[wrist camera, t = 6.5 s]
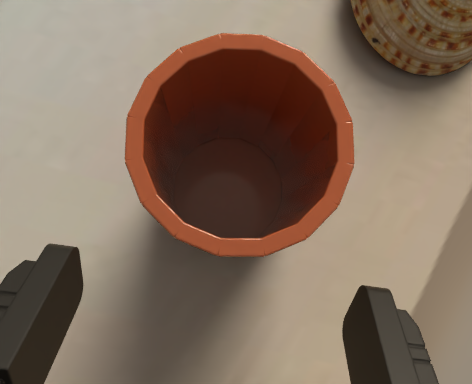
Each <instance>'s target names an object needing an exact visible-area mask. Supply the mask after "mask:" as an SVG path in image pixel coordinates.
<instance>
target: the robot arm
mask: <svg viewBox="0 0 472 384" xmlns="http://www.w3.org/2000/svg"><path fill="white" fill-rule="evenodd" d="M82 292H83V277H82V269H81V261H80V254H79V249H78V248H77V247H72V246H64V245H57V244H48V245H47V246H46V247H45V248H44V250H43V251H42V253H41V255H40V256H39V258H38V260H37V261H29V260H25V261H23V262H22V263H21V264H19V265H18V266H17V267H15V268H14V269H13V270H12V271H10V272H9V273H8V274H7V275H6V277H5V278H4V280H3V281H2V283H1V284H0V384H44V382H45V380H46V378H47V375H48V373H49V371H50V369H51V366H52V364H53V362H54V360H55V357H56V355H57V353H58V351H59V348H60V346H61V344H62V342H63V339H64V337H65V335H66V333H67V331H68V328H69V326H70V324H71V322H72V319H73V317H74V315H75V313H76V310H77V308H78V306H79V303H80V301H81V297H82ZM342 333H343V342H344V348H345V353H346V359H347V364H348V370H349V376H350V381H351V384H439V383H438V380H437V377H436V374H435V371H434V369H433V366H432V364H430V361H431V360H430V357H429V355H428V352H427V349H425V343H424V341H423V338H422V335H421V332H420V330H419V327H418V326H417V324H416V323H415V322H414V320H413V319H412V318H411V316H410V315H409V314H408V313H407V311H406V310H399V309H397V308H396V305H395V302H394V299H393V296H392V293H391V291H390V290H389V289H386V288H378V287H371V286H364V285H362V286H360V287H359V289H358V291H357V293H356V295H355V297H354V299H353V301H352V303H351V305H350V307H349V309H348V311H347V313H346V315H345V318H344V321H343V330H342Z"/></svg>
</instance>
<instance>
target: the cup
mask: <svg viewBox="0 0 472 384" xmlns="http://www.w3.org/2000/svg"><path fill="white" fill-rule="evenodd" d="M125 164H126V166H127V169H128V172H129V174H130V177H131V179H132V182H133V185H134V187H135V190H136V192H137V195H138V198H139V200H140V203H141V204H142V205H143V207H144V208H145V209H146V210H147V211H148V212H149V213H150V214H151V215H152V216H153V217H154V218H155V219H156V220H157V221H158V222H159V223H160V224H161V225H162V226H163V227H164V228H165V230H166V231H167V232H168V233H169V234H170V235H171V236H172V237H175V239H177V240H179V241H182V242H184V243H186V244H189V245H191V246H194V247H196V248H198V249H201V250H203V251H205V252H208V253H210V254H212V255H215V256H217V255H218V256H219V257H263V256H268V255H270V254H273V253H275V252H277V251H280V250H282V249H285V248H287V247H289V246H292V245H294V244H296V243H299V242H301V241H304V240H306V239H307V238H308V237H310V236H311V235H312V234H313V233H314V232H315V231H316V229H317V228H318V227H319V226H320V225H321V224H322V223H323V222H324V221H325V220H326V219H327V218H328V217H329V216H330V215H331V214H332V213H333V212H334V211H335V210H336V209H337V207H338V206H339V204H340V202H341V199H342V197H343V194H344V191H345V189H346V186H347V183H348V181H349V178H350V176H351V173H352V170H353V168H354V142H353V123H352V119H351V117H350V114H349V112H348V110H347V108H346V106H345V103H344V101H343V99H342V97H341V95H340V92H339V90H338V88H337V86H336V84H335V83H334V81H333V80H332V79H331V78H330V77H329V76H328V75H327V74H326V73H325V72H324V71H323V70H322V69H321V68H320V67H319V66H318V65H317V64H316V63H315V62H313V61H312V60H311V59H310V58H309V57H308V56H307V55H306V54H305V53H303V52H302V51H300V50H298V49H296V48H293V47H291V46H288V45H286V44H284V43H281V42H279V41H277V40H274V39H272V38H270V37H267V36H263V35H255V34H227V33H221V34H217V35H214V36H211V37H208V38H205V39H203V40H200V41H197V42H194V43H191V44H188V45H185V46H183V47H180V49H177V50H176V51H175V52H174V53H172V54H171V55H170V56H169V57H168V58H167V59H166V60H165V61H163V62H162V63H161V64H160V65H159V66H158V67H157V68H155V69H154V70H153V71H152V72H151V73H150V74H149V75H148V76H147V77H146V78H145V80H144V82H143V84H142V86H141V88H140V90H139V92H138V94H137V96H136V98H135V100H134V102H133V104H132V107H131V109H130V111H129V113H128V117H127V121H126V143H125Z"/></svg>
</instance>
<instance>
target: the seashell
mask: <svg viewBox="0 0 472 384" xmlns="http://www.w3.org/2000/svg"><path fill="white" fill-rule="evenodd" d="M351 4H352V9H353V13H354V16H355V18H356V21H357V23H358V25H359V28H360V29H361V31H362V33H363V34H364V36H365V38H366V39H367V40H368V42H369V43H370V44H371V45H372V47H373V48H374V49H375V50H376V51H377V52H378V53H379V54H380V55H381V56H382V57H383V58H385V59H386V60H387V61H389V62H390V63H392V64H393V65H395V66H396V67H398V68H400V69H403V70H405V71H407V72H410V73H413V74H421V75H428V76H434V75H441V74H446V73H449V72H452V71H455V70H457V69H458V68H460V67H462V66H464V65H466V64H467V63H468V62H469V61H470V60H472V0H351Z"/></svg>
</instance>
